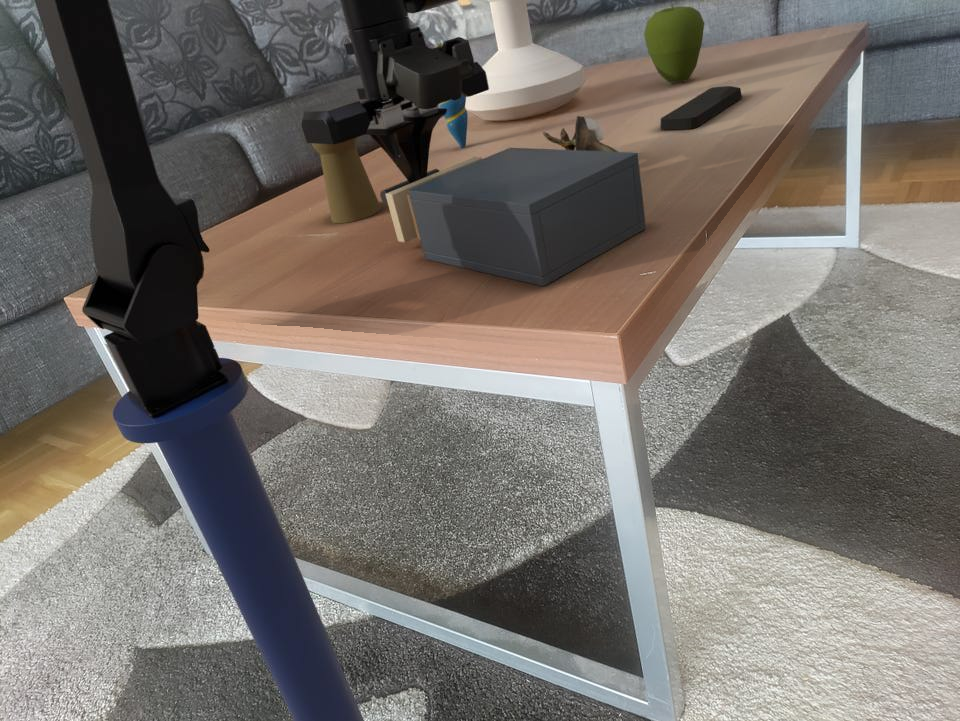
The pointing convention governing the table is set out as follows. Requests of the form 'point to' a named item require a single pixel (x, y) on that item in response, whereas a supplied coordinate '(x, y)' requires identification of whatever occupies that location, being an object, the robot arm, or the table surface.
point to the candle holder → (523, 71)
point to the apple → (675, 41)
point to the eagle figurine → (582, 137)
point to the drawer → (402, 205)
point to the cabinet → (530, 211)
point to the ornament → (456, 116)
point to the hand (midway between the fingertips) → (420, 188)
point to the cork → (346, 182)
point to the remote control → (701, 108)
